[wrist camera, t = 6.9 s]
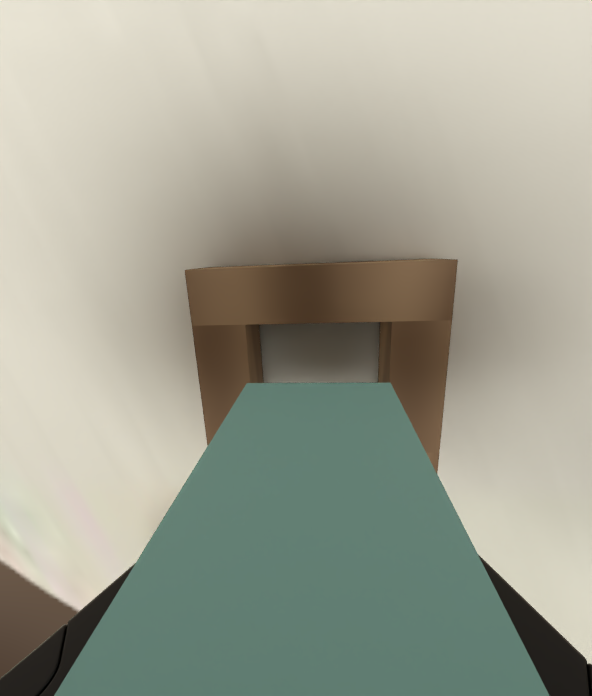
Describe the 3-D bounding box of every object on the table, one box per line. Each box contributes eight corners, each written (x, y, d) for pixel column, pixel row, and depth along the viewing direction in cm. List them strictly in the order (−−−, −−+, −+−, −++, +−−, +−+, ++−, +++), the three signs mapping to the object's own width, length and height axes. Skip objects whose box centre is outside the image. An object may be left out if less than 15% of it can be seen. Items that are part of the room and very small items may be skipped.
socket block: (433, 258, 16) (457, 259, 13) (418, 459, 19) (435, 495, 16) (208, 267, 17) (184, 270, 14) (229, 456, 20) (213, 489, 17)
